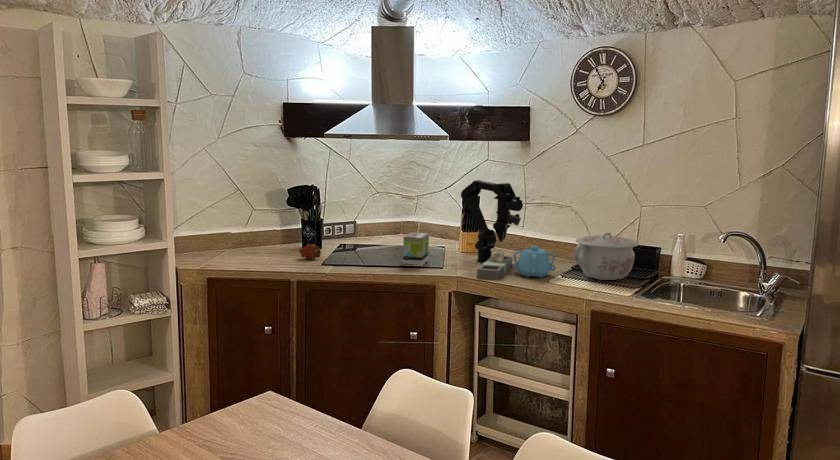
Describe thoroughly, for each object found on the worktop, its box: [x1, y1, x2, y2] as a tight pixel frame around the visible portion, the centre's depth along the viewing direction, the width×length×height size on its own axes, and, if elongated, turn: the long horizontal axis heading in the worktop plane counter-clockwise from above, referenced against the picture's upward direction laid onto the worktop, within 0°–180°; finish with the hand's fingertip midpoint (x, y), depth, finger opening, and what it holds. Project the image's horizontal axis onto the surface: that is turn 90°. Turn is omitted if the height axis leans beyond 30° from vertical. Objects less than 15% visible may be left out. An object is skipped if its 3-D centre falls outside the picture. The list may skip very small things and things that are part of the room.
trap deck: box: [476, 255, 513, 281], centre depth 313 cm, size 10×34×4 cm, turn 162°
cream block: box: [491, 251, 505, 262], centre depth 316 cm, size 5×5×4 cm
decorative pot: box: [511, 245, 556, 279], centre depth 304 cm, size 16×16×14 cm
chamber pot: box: [573, 232, 639, 280], centre depth 300 cm, size 28×28×21 cm
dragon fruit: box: [298, 243, 322, 260], centre depth 336 cm, size 8×8×12 cm
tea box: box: [402, 232, 430, 265], centre depth 326 cm, size 15×10×15 cm
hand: (502, 240), depth 325 cm, fingers open, 6 cm apart
